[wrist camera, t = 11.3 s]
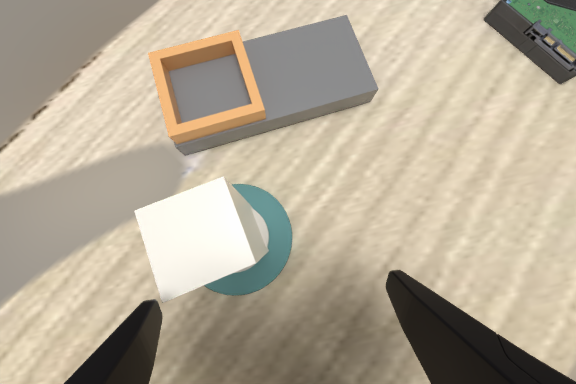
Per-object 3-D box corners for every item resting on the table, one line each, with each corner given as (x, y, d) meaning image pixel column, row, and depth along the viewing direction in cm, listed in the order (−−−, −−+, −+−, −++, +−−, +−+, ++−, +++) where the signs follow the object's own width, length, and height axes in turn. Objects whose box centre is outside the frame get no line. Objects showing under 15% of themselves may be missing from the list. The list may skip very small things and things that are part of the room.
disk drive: (556, -47, 28) (478, 23, 26) (586, -79, 25) (501, -3, 23) (633, 9, 27) (558, 89, 24) (673, -17, 24) (592, 70, 22)
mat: (273, 308, 20) (272, 310, 19) (168, 274, 20) (164, 275, 19) (304, 202, 21) (305, 201, 21) (207, 172, 22) (205, 171, 21)
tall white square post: (218, 280, 19) (152, 324, 10) (197, 220, 20) (116, 203, 10) (278, 255, 20) (274, 271, 10) (255, 196, 21) (231, 159, 11)
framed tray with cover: (185, 155, 22) (166, 139, 18) (165, 79, 23) (145, 51, 20) (370, 101, 23) (385, 78, 20) (341, 32, 25) (351, -1, 21)
